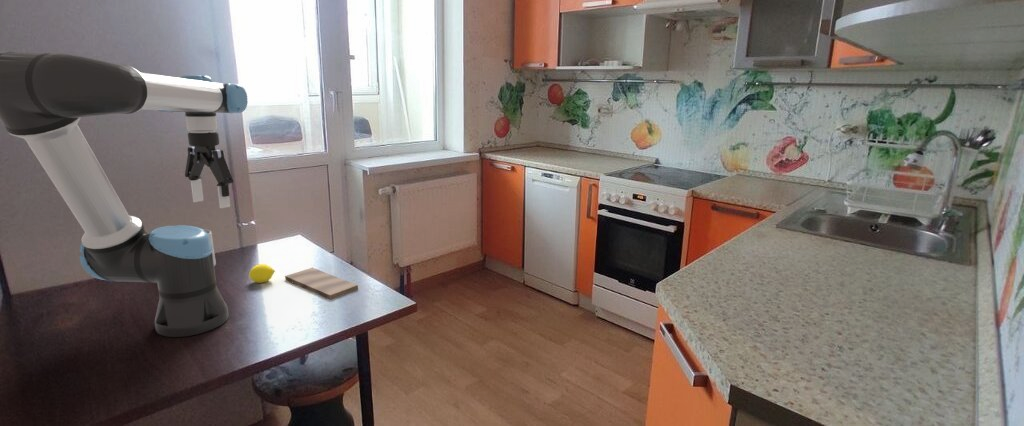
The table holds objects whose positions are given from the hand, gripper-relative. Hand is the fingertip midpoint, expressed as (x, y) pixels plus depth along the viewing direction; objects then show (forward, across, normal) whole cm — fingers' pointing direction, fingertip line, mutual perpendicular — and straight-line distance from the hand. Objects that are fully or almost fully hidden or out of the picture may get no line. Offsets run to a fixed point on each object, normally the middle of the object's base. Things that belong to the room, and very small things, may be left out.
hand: (211, 204), depth 151 cm
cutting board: (+21, -33, -10) cm, 40 cm away
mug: (+21, +11, +1) cm, 24 cm away
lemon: (+22, -17, -3) cm, 28 cm away
